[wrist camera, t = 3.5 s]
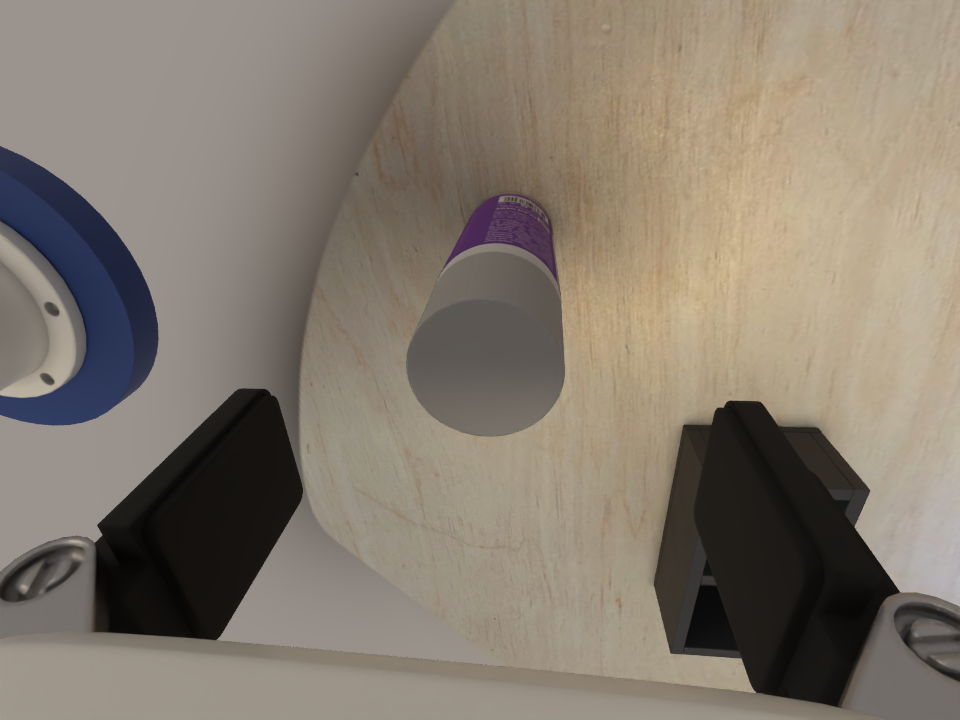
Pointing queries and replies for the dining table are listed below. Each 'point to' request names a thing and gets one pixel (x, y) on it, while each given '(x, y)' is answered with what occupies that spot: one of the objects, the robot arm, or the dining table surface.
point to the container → (493, 324)
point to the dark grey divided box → (682, 560)
